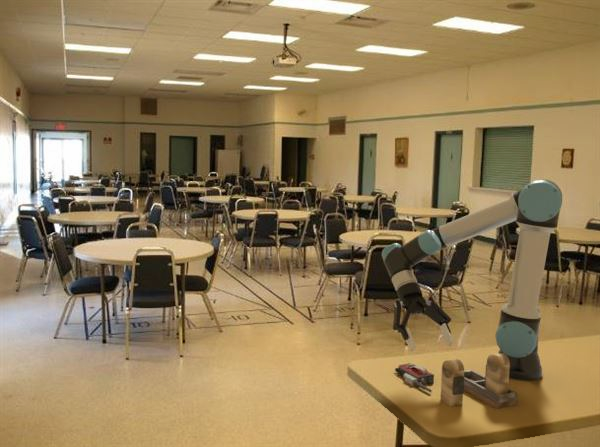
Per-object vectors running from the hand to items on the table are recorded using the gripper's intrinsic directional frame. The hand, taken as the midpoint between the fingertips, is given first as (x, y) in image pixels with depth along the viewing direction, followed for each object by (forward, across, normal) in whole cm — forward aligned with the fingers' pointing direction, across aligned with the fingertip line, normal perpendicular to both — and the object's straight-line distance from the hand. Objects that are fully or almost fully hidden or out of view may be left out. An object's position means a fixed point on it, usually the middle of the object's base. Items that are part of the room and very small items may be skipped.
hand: (432, 346), depth 185 cm
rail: (+16, -14, -4) cm, 21 cm away
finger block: (+17, 0, -3) cm, 17 cm away
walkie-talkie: (+5, -1, -15) cm, 16 cm away
